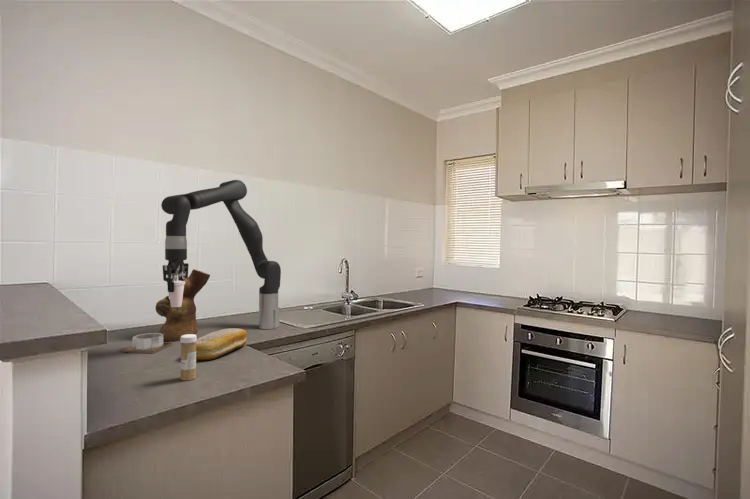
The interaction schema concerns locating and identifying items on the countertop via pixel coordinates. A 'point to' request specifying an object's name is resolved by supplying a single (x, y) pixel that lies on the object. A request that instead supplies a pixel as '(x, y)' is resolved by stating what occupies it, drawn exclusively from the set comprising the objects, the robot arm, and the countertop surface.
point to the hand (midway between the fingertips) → (176, 290)
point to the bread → (219, 343)
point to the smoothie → (177, 293)
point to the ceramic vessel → (182, 309)
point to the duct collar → (147, 343)
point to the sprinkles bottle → (188, 356)
